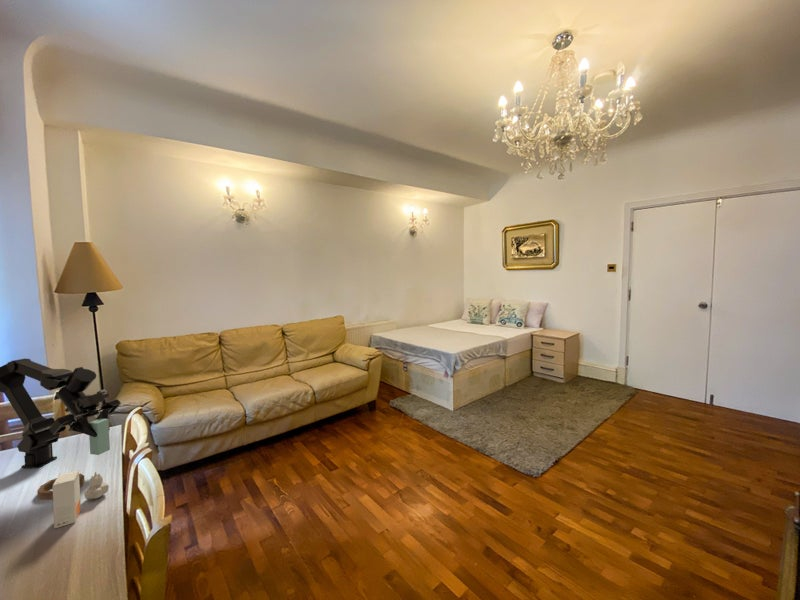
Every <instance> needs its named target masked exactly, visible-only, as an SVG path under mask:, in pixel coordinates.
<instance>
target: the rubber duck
mask: <svg viewBox="0 0 800 600" xmlns="http://www.w3.org/2000/svg"><path fill="white" fill-rule="evenodd" d="M88 484H89V485H88V487H87V488H86V489H85V491H84V492H83V494H84V498H85V499H86V500H96V499H98V498H99V499H100V498H101V497H102V496H104V495H105V494H106V493H108V492H109V484H108V483H107V482H104V479H103V476H102V475H101V474H100V473H98V474H97V472H96V471H94V475H91V478H90V479H89V480H88Z"/></svg>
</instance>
